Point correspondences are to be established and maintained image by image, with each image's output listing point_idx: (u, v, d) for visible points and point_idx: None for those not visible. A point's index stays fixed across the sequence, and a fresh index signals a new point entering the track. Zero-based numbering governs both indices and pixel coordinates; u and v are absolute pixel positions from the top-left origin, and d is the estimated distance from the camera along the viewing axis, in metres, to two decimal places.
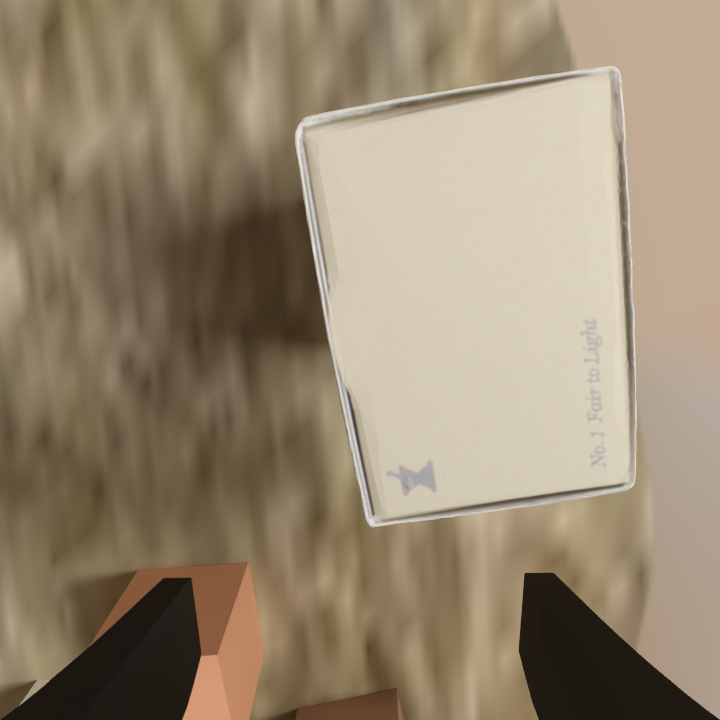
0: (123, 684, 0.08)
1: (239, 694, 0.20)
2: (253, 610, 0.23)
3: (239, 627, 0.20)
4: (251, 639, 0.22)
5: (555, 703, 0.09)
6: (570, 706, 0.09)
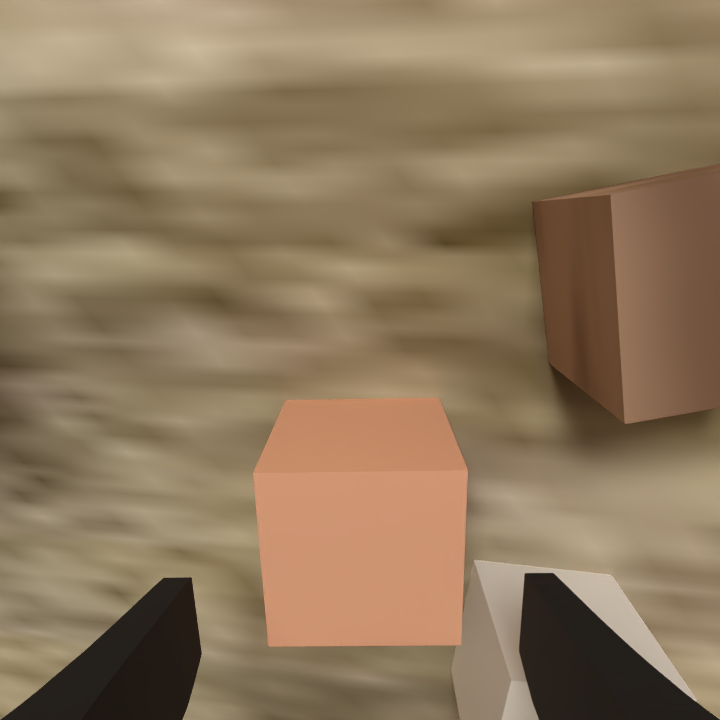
0: (123, 684, 0.08)
1: (386, 449, 0.13)
2: (352, 404, 0.16)
3: (314, 429, 0.14)
4: (373, 414, 0.15)
5: (555, 703, 0.09)
6: (570, 706, 0.09)
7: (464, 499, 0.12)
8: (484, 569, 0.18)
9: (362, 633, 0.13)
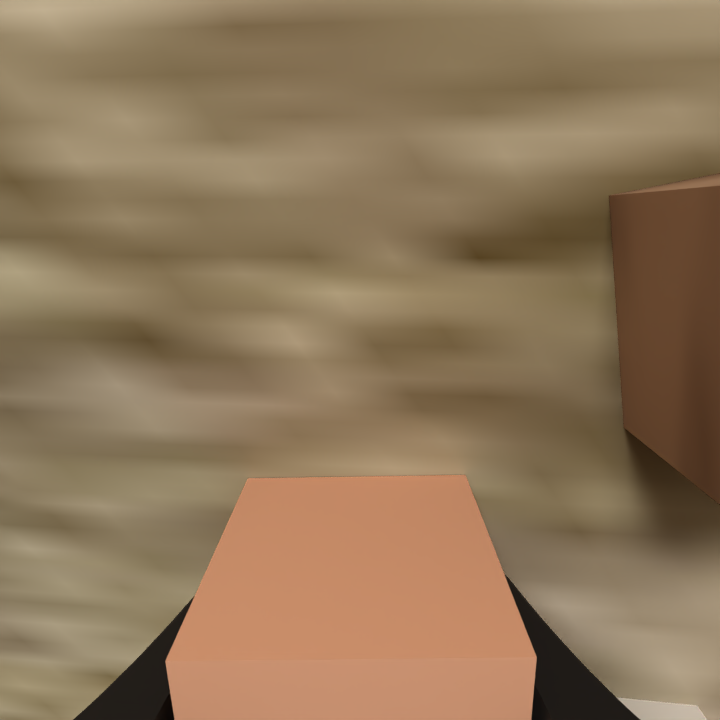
0: None
1: (393, 596, 0.08)
2: (341, 488, 0.11)
3: (281, 545, 0.09)
4: (373, 511, 0.10)
5: None
6: None
7: (529, 703, 0.07)
8: None
9: None
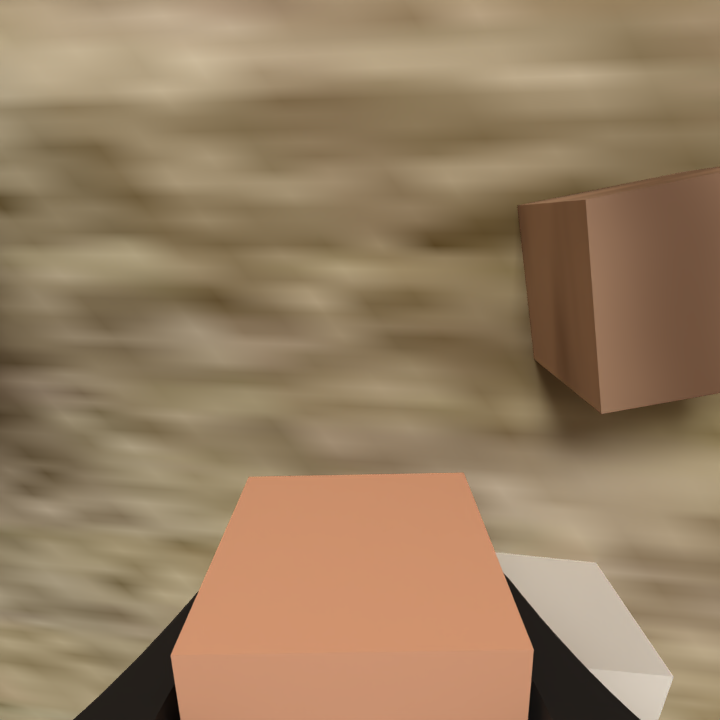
0: None
1: (393, 590, 0.08)
2: (341, 487, 0.11)
3: (283, 542, 0.09)
4: (372, 508, 0.10)
5: None
6: None
7: (526, 694, 0.07)
8: None
9: None
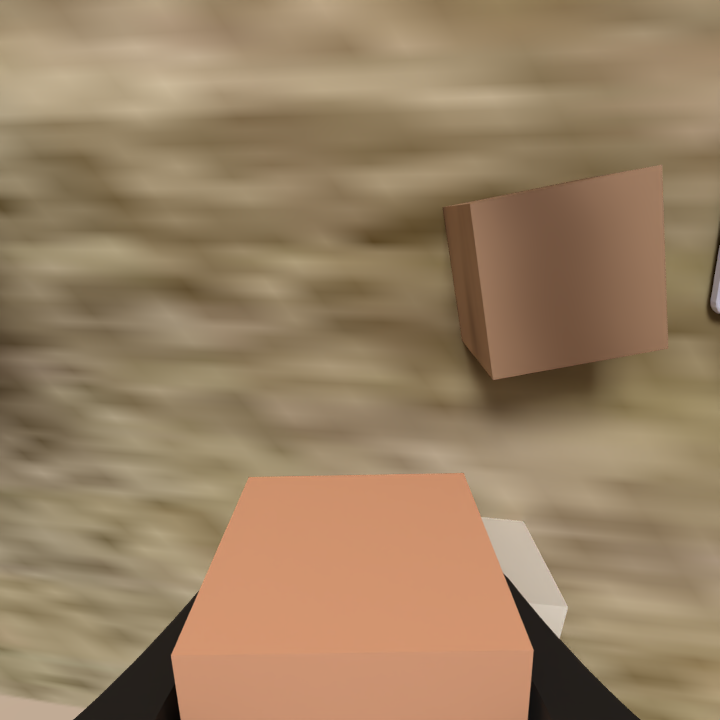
0: None
1: (393, 591, 0.08)
2: (341, 486, 0.11)
3: (283, 543, 0.09)
4: (372, 509, 0.10)
5: None
6: None
7: (526, 694, 0.07)
8: None
9: None
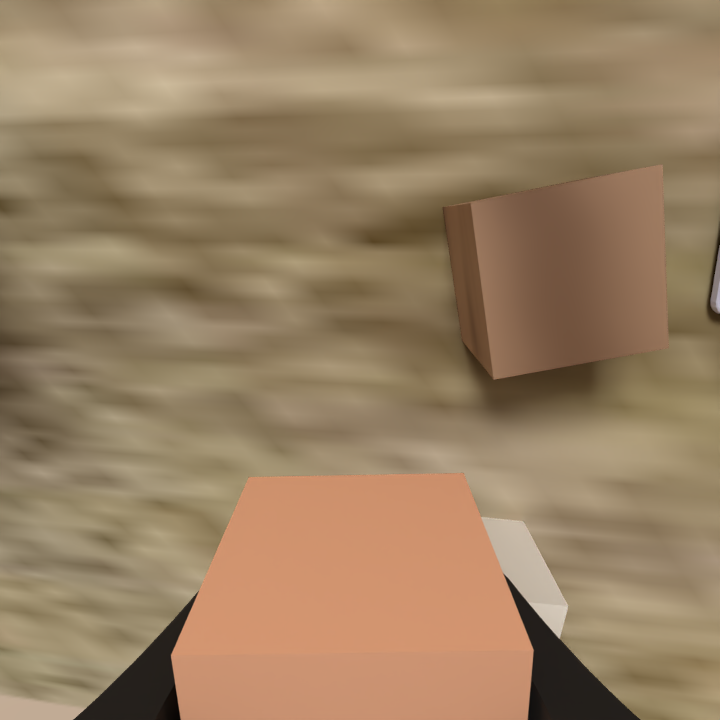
0: None
1: (393, 591, 0.08)
2: (341, 486, 0.11)
3: (283, 543, 0.09)
4: (372, 509, 0.10)
5: None
6: None
7: (526, 694, 0.07)
8: None
9: None
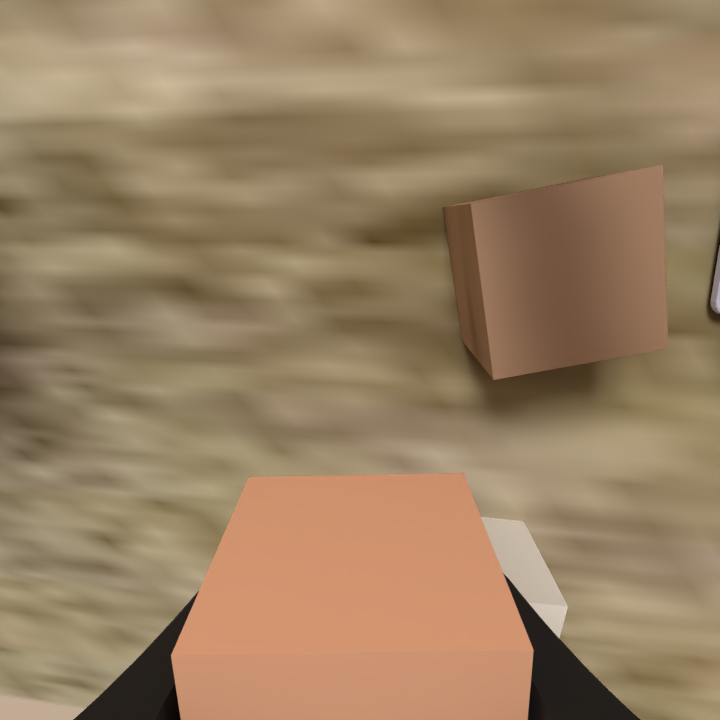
0: None
1: (393, 591, 0.08)
2: (341, 486, 0.11)
3: (283, 543, 0.09)
4: (372, 509, 0.10)
5: None
6: None
7: (526, 694, 0.07)
8: None
9: None
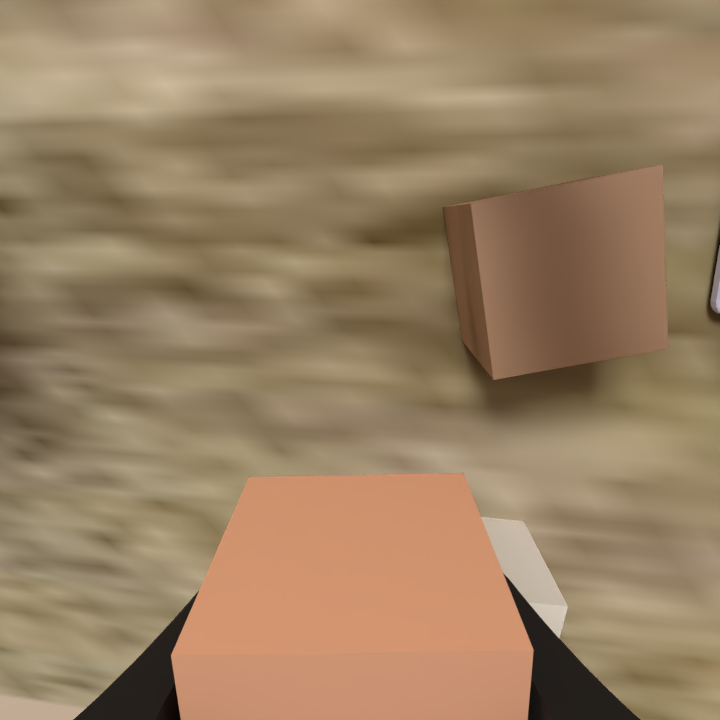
0: None
1: (393, 591, 0.08)
2: (341, 486, 0.11)
3: (283, 543, 0.09)
4: (372, 509, 0.10)
5: None
6: None
7: (526, 694, 0.07)
8: None
9: None
